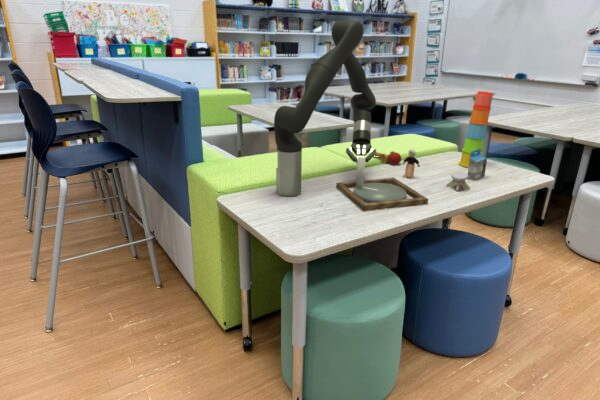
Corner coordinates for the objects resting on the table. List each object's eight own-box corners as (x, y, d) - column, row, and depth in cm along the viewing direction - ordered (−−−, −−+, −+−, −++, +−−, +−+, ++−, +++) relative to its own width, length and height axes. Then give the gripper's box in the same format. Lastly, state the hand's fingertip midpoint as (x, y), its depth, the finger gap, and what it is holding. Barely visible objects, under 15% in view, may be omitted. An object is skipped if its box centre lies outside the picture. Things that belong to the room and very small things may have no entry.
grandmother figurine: (399, 177, 187) (402, 149, 182) (401, 175, 190) (404, 147, 185) (417, 179, 184) (421, 151, 179) (419, 177, 187) (422, 149, 183)
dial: (367, 206, 154) (369, 170, 149) (345, 188, 172) (347, 155, 167) (416, 201, 159) (420, 166, 154) (390, 184, 177) (393, 152, 172)
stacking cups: (462, 161, 212) (473, 89, 200) (483, 164, 207) (496, 91, 194) (455, 166, 204) (466, 92, 192) (477, 169, 199) (490, 93, 186)
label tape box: (474, 181, 183) (479, 153, 179) (465, 178, 186) (470, 151, 182) (484, 177, 189) (489, 149, 184) (475, 174, 192) (480, 148, 187)
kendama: (367, 161, 216) (391, 165, 201) (369, 148, 215) (393, 151, 200) (379, 161, 220) (404, 165, 205) (380, 149, 219) (405, 152, 204)
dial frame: (363, 211, 150) (363, 205, 150) (336, 187, 174) (336, 182, 173) (427, 204, 158) (428, 198, 157) (393, 182, 181) (393, 177, 180)
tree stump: (450, 182, 181) (452, 169, 179) (472, 187, 176) (474, 173, 174) (443, 188, 174) (445, 175, 172) (465, 193, 169) (468, 179, 167)
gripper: (346, 128, 176) (343, 165, 170) (378, 129, 175) (377, 166, 168) (345, 137, 183) (343, 173, 176) (376, 139, 182) (376, 175, 175)
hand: (360, 170), depth 172 cm, fingers closed
